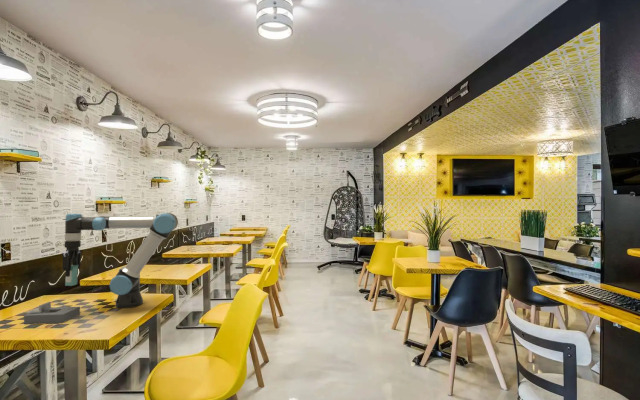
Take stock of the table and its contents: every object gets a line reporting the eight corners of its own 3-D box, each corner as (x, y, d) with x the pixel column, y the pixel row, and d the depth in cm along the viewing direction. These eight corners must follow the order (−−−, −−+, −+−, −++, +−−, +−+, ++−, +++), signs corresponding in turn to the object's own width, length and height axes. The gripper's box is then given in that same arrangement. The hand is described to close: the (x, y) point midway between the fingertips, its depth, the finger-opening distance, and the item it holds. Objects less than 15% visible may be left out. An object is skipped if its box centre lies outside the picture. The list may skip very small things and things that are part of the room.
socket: (79, 314, 198) (79, 306, 198) (63, 322, 184) (63, 314, 184) (43, 315, 197) (43, 307, 197) (24, 324, 183) (24, 315, 183)
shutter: (51, 308, 194) (51, 301, 194) (41, 312, 186) (41, 305, 187) (37, 308, 194) (37, 302, 194) (26, 313, 186) (26, 306, 186)
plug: (77, 284, 199) (78, 265, 200) (72, 285, 195) (73, 266, 195) (70, 283, 199) (70, 264, 200) (64, 285, 195) (65, 266, 195)
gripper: (76, 238, 206) (75, 278, 206) (55, 241, 189) (53, 284, 189) (89, 239, 206) (87, 278, 206) (68, 242, 189) (67, 284, 189)
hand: (71, 281), depth 197 cm, fingers closed on plug, 4 cm apart
